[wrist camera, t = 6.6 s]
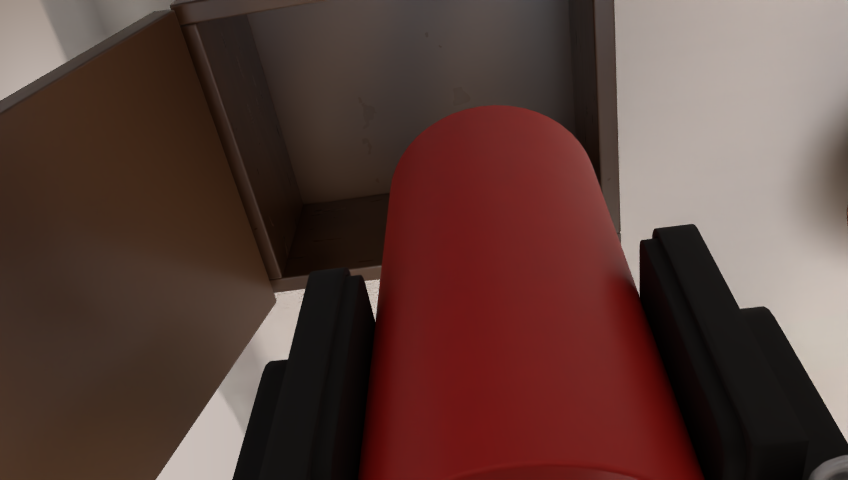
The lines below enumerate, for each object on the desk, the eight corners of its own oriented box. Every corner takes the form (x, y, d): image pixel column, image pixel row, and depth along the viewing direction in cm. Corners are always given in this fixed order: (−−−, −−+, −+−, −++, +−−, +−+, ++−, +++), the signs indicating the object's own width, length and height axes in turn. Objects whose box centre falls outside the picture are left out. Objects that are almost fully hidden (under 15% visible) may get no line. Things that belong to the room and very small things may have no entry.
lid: (-335, 314, 10) (-522, 300, 12) (16, 687, 16) (-142, 644, 17) (174, 8, 20) (39, 21, 22) (277, 301, 26) (164, 295, 27)
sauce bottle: (371, 121, 14) (282, 609, 6) (591, 88, 13) (802, 570, 5) (409, 291, 16) (380, 807, 8) (599, 268, 15) (757, 791, 8)
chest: (577, -106, 24) (612, -72, 19) (591, 169, 29) (621, 248, 25) (217, -41, 25) (168, 5, 20) (295, 211, 31) (270, 294, 26)
